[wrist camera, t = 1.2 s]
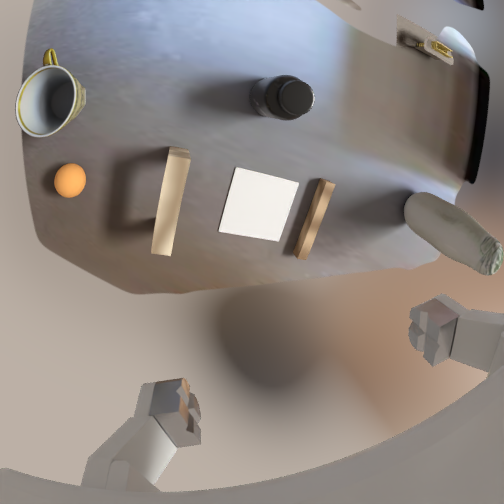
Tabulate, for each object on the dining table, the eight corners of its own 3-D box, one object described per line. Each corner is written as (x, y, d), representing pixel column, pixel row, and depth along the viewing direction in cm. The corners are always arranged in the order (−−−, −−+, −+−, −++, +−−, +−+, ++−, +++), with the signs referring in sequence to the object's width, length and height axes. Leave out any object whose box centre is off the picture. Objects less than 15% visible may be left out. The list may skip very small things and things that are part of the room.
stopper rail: (320, 178, 51) (326, 181, 49) (328, 180, 52) (335, 184, 50) (292, 252, 58) (297, 258, 56) (301, 253, 59) (306, 260, 57)
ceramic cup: (97, 123, 37) (77, 129, 29) (45, 135, 35) (17, 144, 26) (96, 49, 31) (77, 36, 22) (43, 63, 28) (15, 57, 20)
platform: (396, 13, 37) (417, 9, 31) (447, 43, 41) (467, 43, 36) (395, 60, 43) (417, 59, 37) (446, 84, 47) (466, 87, 42)
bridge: (154, 227, 48) (151, 253, 40) (170, 146, 42) (168, 155, 34) (170, 230, 49) (170, 255, 41) (188, 149, 43) (190, 159, 36)
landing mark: (236, 167, 47) (236, 167, 47) (298, 182, 51) (299, 183, 51) (218, 231, 52) (218, 231, 51) (278, 240, 56) (278, 241, 56)
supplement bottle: (244, 111, 42) (265, 114, 32) (254, 73, 40) (279, 65, 29) (282, 121, 45) (314, 128, 35) (293, 85, 42) (327, 82, 32)
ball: (63, 158, 38) (50, 166, 33) (91, 162, 40) (81, 169, 35) (60, 189, 40) (48, 200, 35) (88, 193, 42) (78, 204, 37)
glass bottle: (429, 197, 61) (515, 250, 37) (410, 231, 64) (490, 293, 41) (410, 178, 57) (507, 231, 33) (389, 215, 60) (479, 281, 36)
